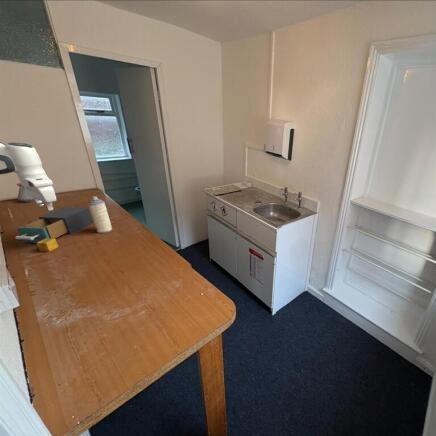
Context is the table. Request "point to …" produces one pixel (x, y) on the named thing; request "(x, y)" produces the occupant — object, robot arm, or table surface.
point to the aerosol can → (100, 215)
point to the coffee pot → (23, 194)
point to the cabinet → (71, 217)
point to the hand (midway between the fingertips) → (45, 208)
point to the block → (47, 244)
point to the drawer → (42, 230)
